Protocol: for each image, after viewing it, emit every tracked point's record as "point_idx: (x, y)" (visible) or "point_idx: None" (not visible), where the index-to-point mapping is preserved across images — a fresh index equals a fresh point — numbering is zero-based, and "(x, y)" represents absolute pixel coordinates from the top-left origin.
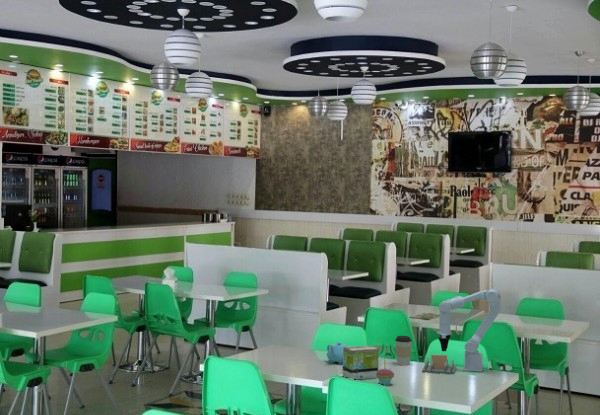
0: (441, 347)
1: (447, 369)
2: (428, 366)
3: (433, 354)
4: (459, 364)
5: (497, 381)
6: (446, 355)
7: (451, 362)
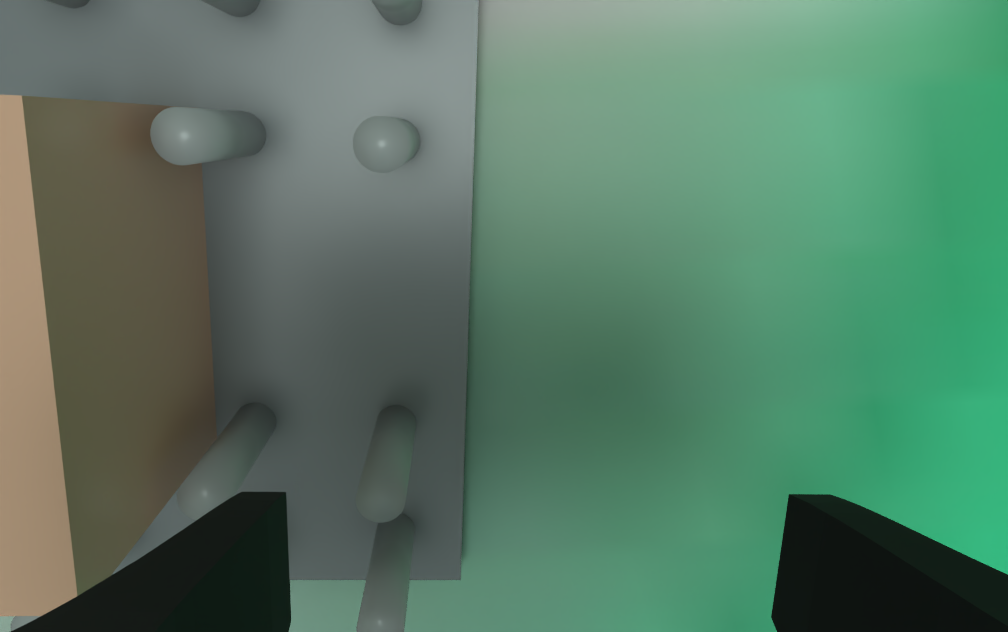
0: (153, 556)
1: None
2: (323, 28)
3: (19, 168)
4: None
5: None
6: (30, 597)
7: (11, 624)
